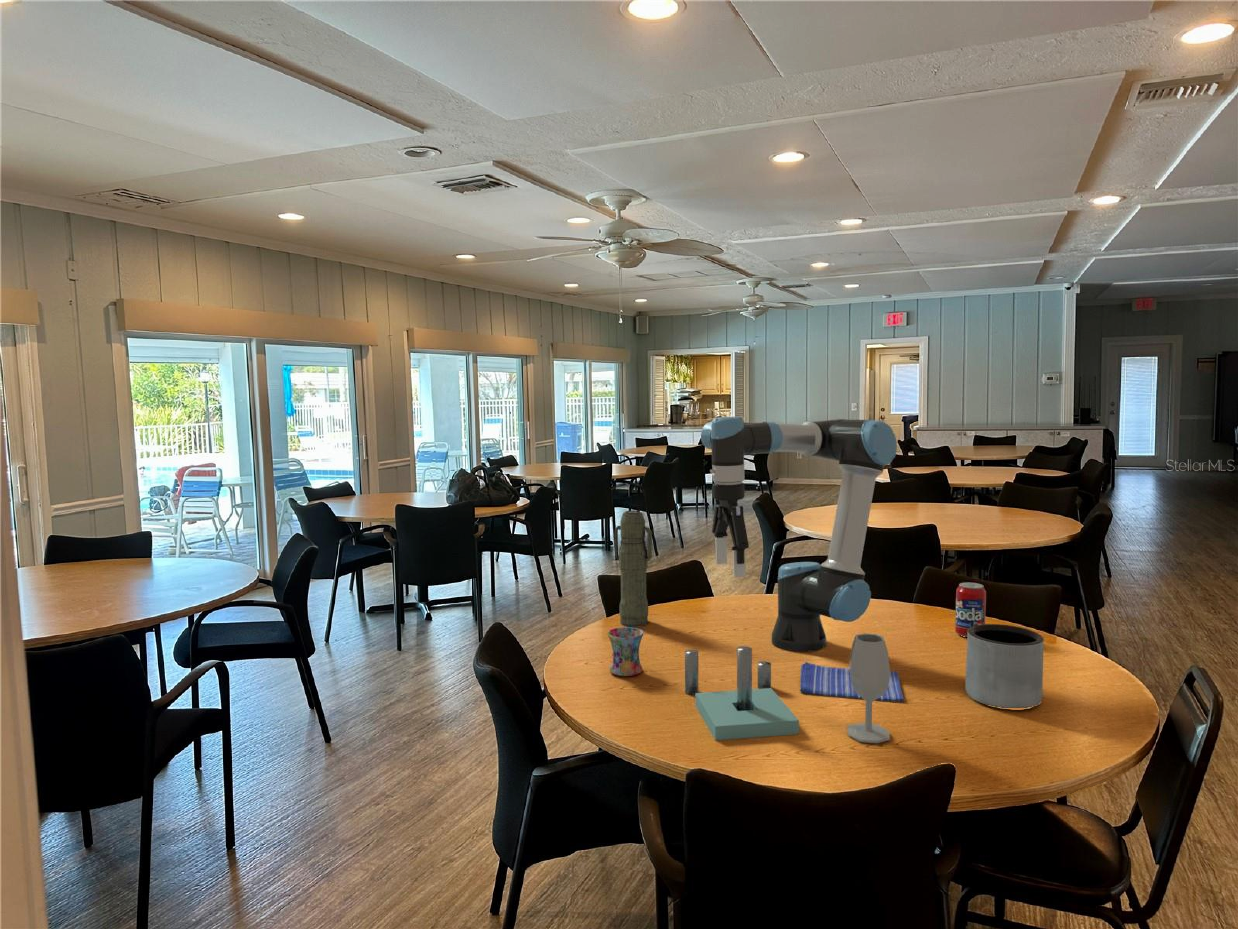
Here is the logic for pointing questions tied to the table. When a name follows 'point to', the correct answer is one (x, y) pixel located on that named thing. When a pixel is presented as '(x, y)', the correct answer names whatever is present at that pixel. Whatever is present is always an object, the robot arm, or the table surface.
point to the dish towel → (841, 683)
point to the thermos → (633, 568)
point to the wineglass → (869, 683)
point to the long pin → (744, 678)
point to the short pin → (764, 675)
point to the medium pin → (691, 672)
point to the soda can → (969, 607)
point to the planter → (1004, 666)
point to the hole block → (746, 715)
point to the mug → (625, 650)
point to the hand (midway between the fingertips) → (730, 570)
